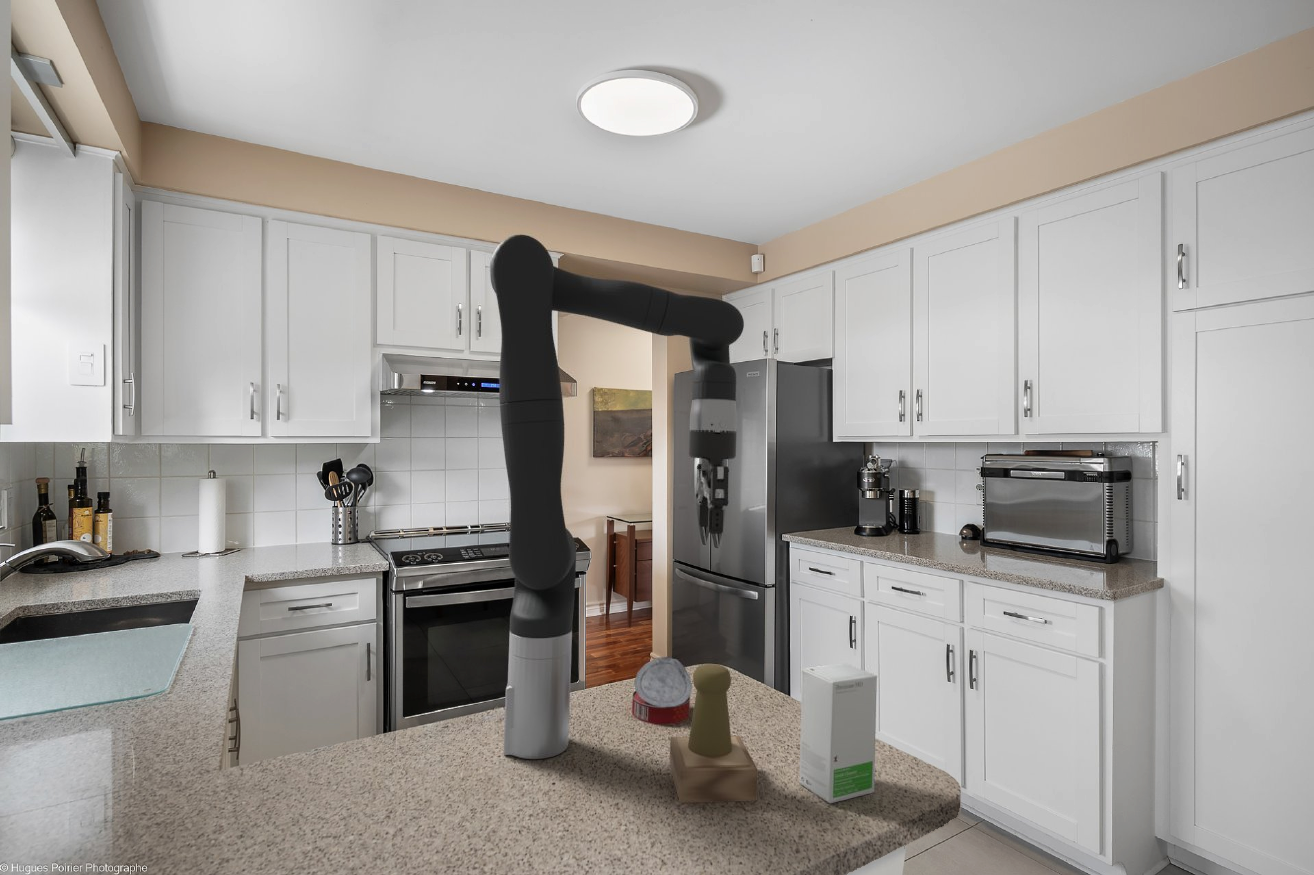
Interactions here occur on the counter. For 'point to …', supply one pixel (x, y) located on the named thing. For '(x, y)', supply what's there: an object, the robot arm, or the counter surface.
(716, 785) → the base
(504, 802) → the counter surface
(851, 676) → the skincare box
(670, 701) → the canned food
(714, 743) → the olive knobbed peg
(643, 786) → the counter surface
